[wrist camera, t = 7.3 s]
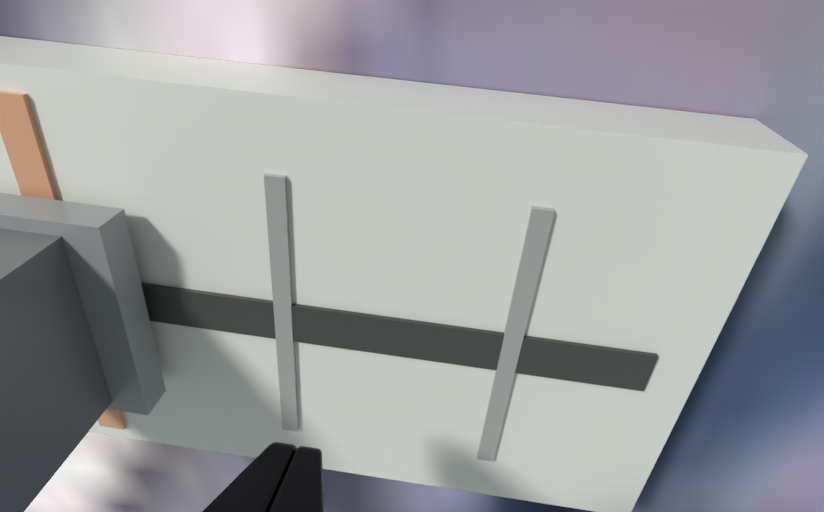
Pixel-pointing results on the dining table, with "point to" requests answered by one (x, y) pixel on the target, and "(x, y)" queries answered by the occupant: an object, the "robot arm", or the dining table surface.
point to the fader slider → (66, 335)
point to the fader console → (405, 260)
